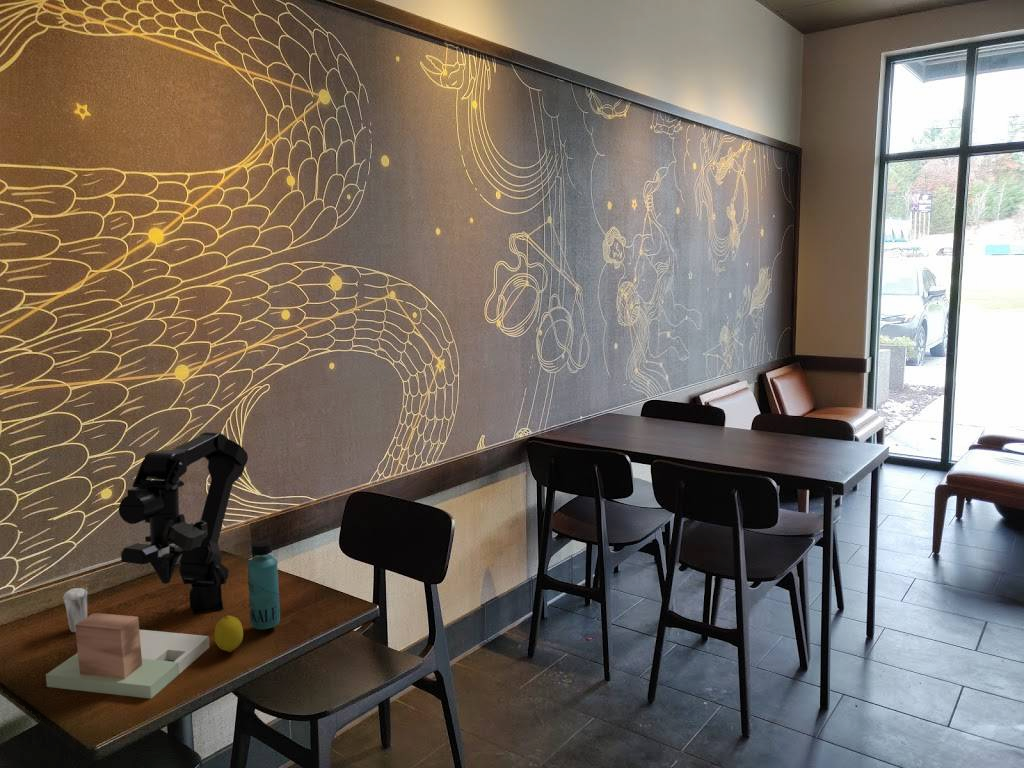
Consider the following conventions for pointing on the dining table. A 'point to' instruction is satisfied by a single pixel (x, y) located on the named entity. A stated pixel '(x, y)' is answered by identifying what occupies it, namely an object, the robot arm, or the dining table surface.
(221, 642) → the lemon
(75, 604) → the milkshake
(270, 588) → the beverage bottle
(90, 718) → the dining table surface
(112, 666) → the terracotta block
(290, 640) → the dining table surface
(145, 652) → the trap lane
